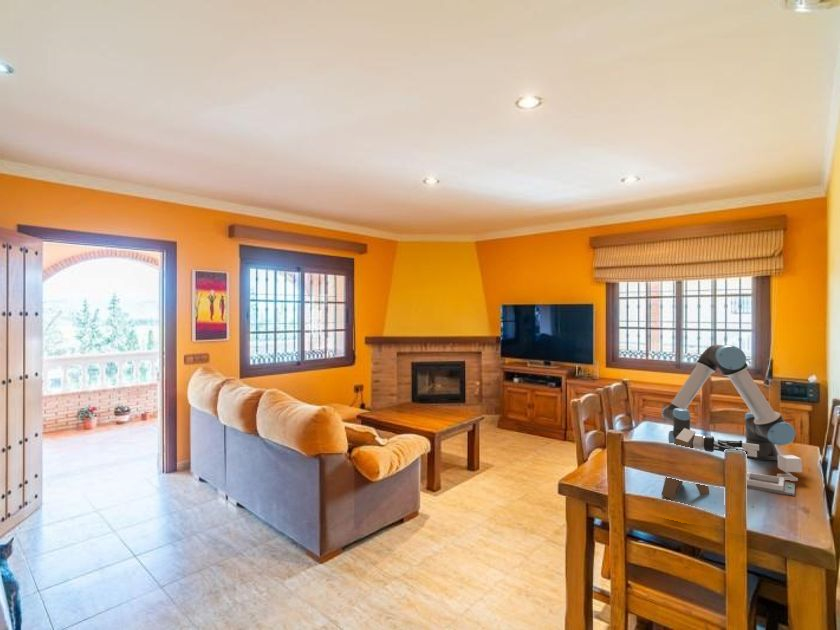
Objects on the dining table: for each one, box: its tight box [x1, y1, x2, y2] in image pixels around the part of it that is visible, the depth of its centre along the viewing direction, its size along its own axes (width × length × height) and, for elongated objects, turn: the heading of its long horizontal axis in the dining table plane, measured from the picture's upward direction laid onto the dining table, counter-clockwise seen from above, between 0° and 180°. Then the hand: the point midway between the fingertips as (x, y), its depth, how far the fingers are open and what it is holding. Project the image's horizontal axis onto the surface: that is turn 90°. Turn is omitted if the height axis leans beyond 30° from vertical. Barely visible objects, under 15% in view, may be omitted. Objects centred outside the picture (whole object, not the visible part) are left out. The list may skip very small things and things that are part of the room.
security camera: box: [776, 454, 803, 482], centre depth 196 cm, size 6×7×10 cm
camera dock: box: [746, 471, 796, 497], centre depth 188 cm, size 15×20×3 cm
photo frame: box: [661, 428, 710, 501], centre depth 182 cm, size 15×22×25 cm
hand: (758, 450), depth 203 cm, fingers open, 13 cm apart
